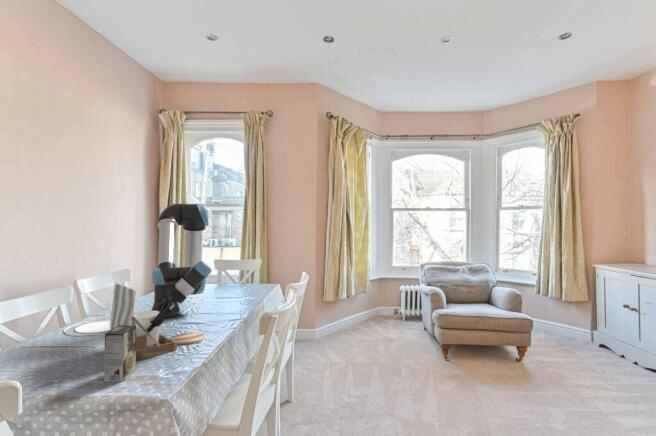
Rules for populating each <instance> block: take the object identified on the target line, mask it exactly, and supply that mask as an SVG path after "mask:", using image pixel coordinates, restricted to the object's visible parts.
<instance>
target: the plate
mask: <svg viewBox="0 0 656 436" xmlns="http://www.w3.org/2000/svg"><path fill="white" fill-rule="evenodd" d="M104 319H110V320H104ZM98 320H99V321H98ZM110 321H111V317H107V318H97V319H91V320H87V321H81V322H78V323H75V324H72V325H70V326H68V327H66V328H65V329H64V331H63V332H64V334H65V335H67V336H71V337H93V336H94V337H95V336H101V335H105V333H107V332H108V331H110V330H111V328H110ZM85 323H86V324H85ZM81 324H82V325H81ZM78 325H79V326H78ZM74 326H75V327H76V326H78V327H76V328H75V329H74V331H75V332H76V333H77V334H81V335H76V334H74V335H73V334H68V333H66V331H67V330H68V329H70V328H73V327H74ZM98 333H99V334H98ZM82 334H85V335H82ZM86 334H87V335H86Z"/></svg>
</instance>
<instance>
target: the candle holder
mask: <svg viewBox="0 0 656 436" xmlns="http://www.w3.org/2000/svg"><path fill="white" fill-rule="evenodd" d="M158 314H159V311H151V310H145V311H144V310H143V311H139V312H136V313H135V314H133V316H134V317H135V318H136V320H137V321H138V322H139V323H140V324H141V325H142V326H143V327H144V328H145V327H146V326H147V325H148V324H149V323H150V321H153V320H154V319H155V317H156V316H157V315H158ZM134 326H136V337H137V336H138V335H139V334H140V332H141V331H142V329H141V328H140V327H139V326H138V325H137V324H136V323H135V322H134ZM160 328H161V325H160V326H159V327H158V326H157V327H155V328H154V329H153V330H152V331H151V332H150V334H151V335H152V337H153V338H154V339H155V340H156V341H157V342H158V341H159V333H160ZM158 343H159V342H158ZM152 345H156V344H155V342H154V341H153V340H152V339H151V338H150V337H149V336H148V335H147V336H146V347H148V346H152Z"/></svg>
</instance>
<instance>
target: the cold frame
mask: <svg viewBox="0 0 656 436" xmlns="http://www.w3.org/2000/svg"><path fill="white" fill-rule="evenodd" d="M136 291H137V290H136V289H134V288H131V287H128V286H125V285H122V284H119V283H117V282H115V283H114V287H113V296H112V306H111V315H110V318H111V319H110V320H109V321H110V328H111V330H112V329H113V328H115V327H117V326H119V325H130V326H133V321H134V324H135V323H136V324H137V325H138V326H139V327H140V328H141V329H142V330H143V331H144V332H145V333H146V334H147V335H148V336H149V337H150V338H151V339H152V340H153V341H154V342H155V344H154V345H155V346H151V347H147V346H146V335H141V336H137V337H136V362H138V361H143V360H145V359H149V358H153V357H156V356H160V355H163V354H164V355H165V354H168V353H172V352H174V351H177V350H178V347H177V346H178V345H177V341H175V340H173V339H171V337H169V336H167V335H165V334H163V333H161V332H159V341H158V342H157V341H156V340H155V339H154V338H153V337H152V335H151V334H150V333H149V332H148V331H147V330H146V329H145V328H144V327H143V326H142V325H141V324H140V323H139V322H138V321H137V320H136V318H135V317H134V310H135V308H134V307H135V301H136Z"/></svg>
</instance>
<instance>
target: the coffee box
mask: <svg viewBox="0 0 656 436" xmlns="http://www.w3.org/2000/svg"><path fill="white" fill-rule="evenodd" d="M104 333H105V334H104V358H103V359H104V363H103V364H104V365H103V367H104V369H103V371H104V372H103V382H104V383H118V382H119V383H122V382H125V380H126V379H128V378H129V377H130V376H131V375H132V374H133V373H134V372H136V368H137V365H136V364H137V361H136V326H135V325H132V326H130V325H119V326H117V327H115V328H113V329H112V330H110V331H106V332H104Z"/></svg>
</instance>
